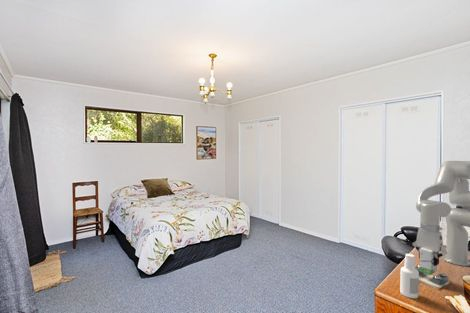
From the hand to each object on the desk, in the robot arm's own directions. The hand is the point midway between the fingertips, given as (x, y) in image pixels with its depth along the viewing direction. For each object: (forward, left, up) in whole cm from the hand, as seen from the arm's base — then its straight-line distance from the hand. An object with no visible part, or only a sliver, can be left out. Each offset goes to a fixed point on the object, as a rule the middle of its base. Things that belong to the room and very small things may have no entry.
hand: (428, 262), depth 127 cm
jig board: (0, 0, -9) cm, 9 cm away
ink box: (0, 0, -5) cm, 5 cm away
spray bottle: (+23, +2, -9) cm, 25 cm away
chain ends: (0, 0, -9) cm, 9 cm away
